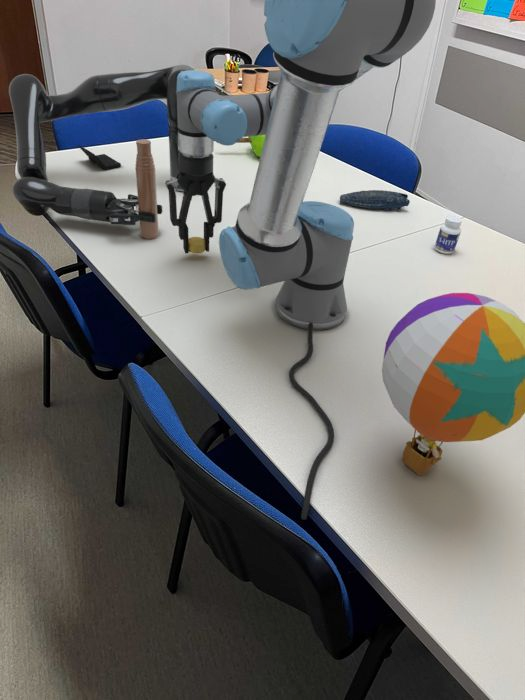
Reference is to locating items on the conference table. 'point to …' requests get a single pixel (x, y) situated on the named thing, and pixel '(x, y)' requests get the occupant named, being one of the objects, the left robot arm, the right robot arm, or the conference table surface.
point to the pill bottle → (448, 235)
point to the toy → (455, 372)
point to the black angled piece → (101, 159)
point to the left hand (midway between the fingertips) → (158, 214)
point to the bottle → (146, 187)
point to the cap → (196, 245)
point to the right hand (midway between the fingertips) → (196, 249)
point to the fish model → (376, 199)
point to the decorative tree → (255, 143)
